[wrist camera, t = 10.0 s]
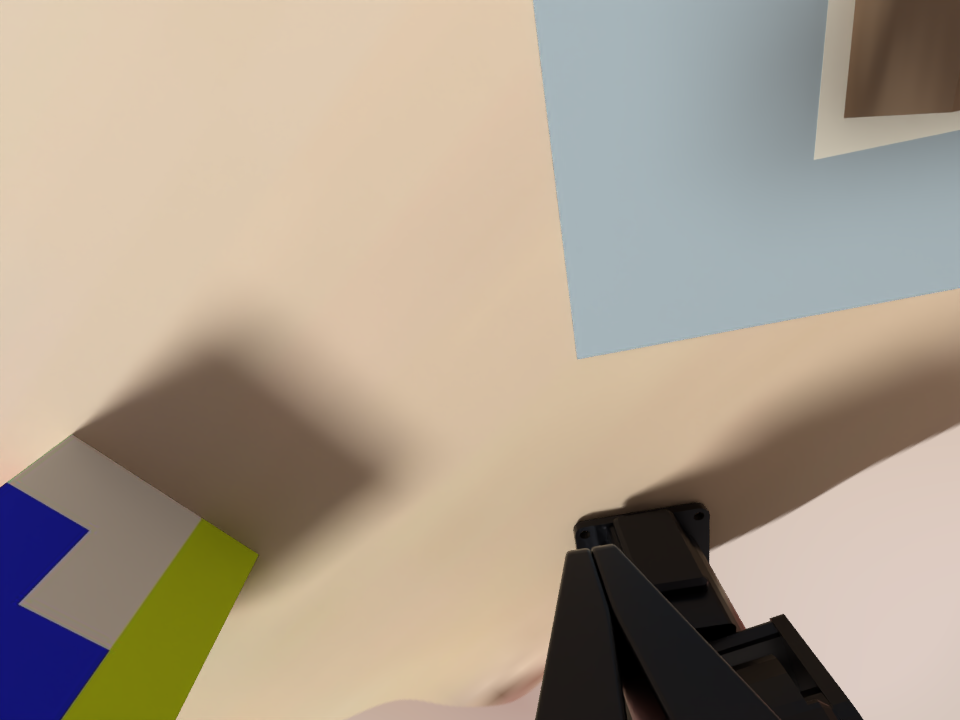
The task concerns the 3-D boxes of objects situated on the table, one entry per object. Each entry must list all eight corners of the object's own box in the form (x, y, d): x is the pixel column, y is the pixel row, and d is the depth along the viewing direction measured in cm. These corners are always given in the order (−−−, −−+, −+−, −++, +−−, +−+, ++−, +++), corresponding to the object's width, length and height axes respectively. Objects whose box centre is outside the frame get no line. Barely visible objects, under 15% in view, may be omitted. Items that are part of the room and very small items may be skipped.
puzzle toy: (73, 433, 21) (-227, 656, 12) (259, 553, 24) (134, 800, 15) (-29, 548, 24) (-336, 801, 15) (151, 643, 27) (-10, 898, 18)
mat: (1140, 253, 18) (1144, 253, 18) (577, 358, 20) (577, 359, 20) (1439, -514, 11) (1449, -520, 11) (501, -258, 12) (501, -261, 12)
